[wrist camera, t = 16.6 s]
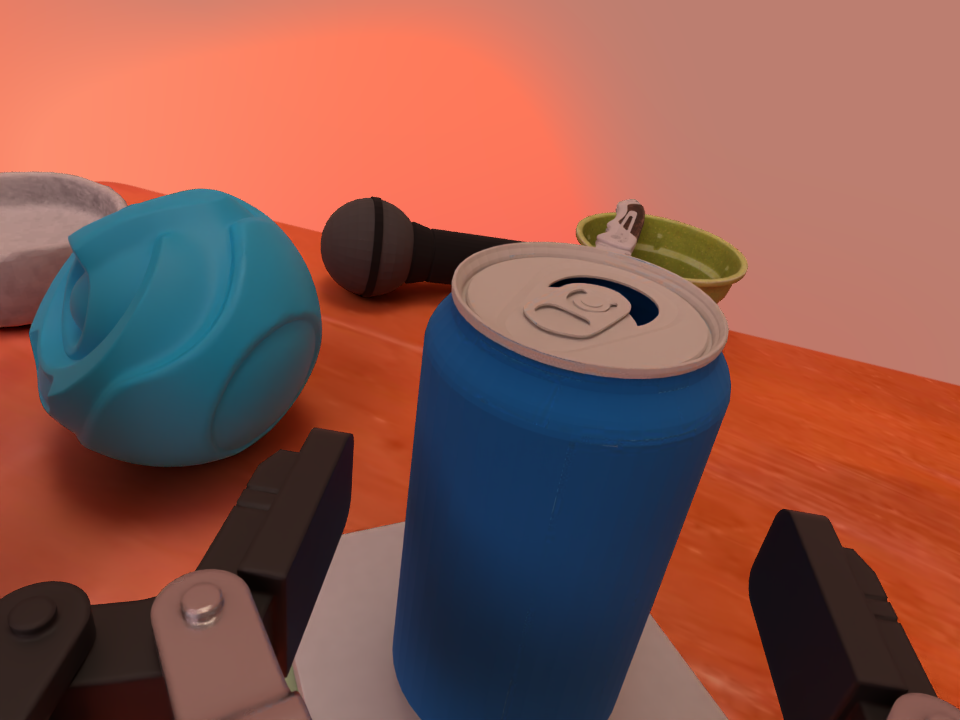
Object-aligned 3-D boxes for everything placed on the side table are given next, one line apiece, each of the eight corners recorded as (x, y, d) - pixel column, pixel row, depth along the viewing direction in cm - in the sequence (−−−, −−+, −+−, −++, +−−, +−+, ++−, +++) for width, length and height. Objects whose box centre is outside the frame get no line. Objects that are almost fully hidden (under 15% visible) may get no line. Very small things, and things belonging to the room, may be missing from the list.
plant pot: (701, 358, 46) (743, 233, 42) (701, 439, 38) (754, 295, 34) (562, 325, 48) (588, 201, 43) (534, 395, 40) (563, 252, 35)
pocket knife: (620, 192, 42) (654, 200, 42) (617, 206, 42) (650, 214, 42) (569, 279, 31) (613, 291, 30) (565, 297, 31) (609, 309, 31)
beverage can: (652, 665, 21) (795, 310, 15) (528, 841, 17) (662, 432, 10) (485, 548, 24) (547, 216, 18) (342, 669, 20) (361, 278, 14)
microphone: (570, 281, 56) (315, 249, 50) (603, 214, 52) (327, 169, 46) (591, 340, 52) (314, 312, 46) (629, 272, 47) (327, 231, 41)
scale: (365, 1184, 14) (376, 1128, 12) (252, 613, 25) (248, 537, 23) (796, 926, 19) (852, 857, 17) (543, 543, 30) (560, 475, 28)
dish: (-147, 353, 35) (-181, 261, 33) (-97, 245, 45) (-120, 168, 43) (168, 324, 41) (160, 245, 39) (149, 235, 52) (141, 168, 49)
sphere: (36, 396, 34) (-19, 157, 28) (267, 351, 40) (262, 147, 34) (82, 565, 26) (19, 279, 20) (361, 476, 32) (376, 238, 26)
